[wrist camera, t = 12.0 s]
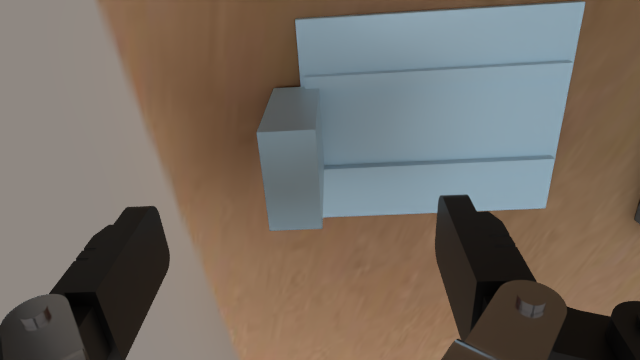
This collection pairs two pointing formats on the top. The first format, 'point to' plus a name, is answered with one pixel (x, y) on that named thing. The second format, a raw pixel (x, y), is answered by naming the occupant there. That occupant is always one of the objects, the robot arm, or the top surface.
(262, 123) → the lid
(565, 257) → the top surface
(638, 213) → the grey shallow tray
